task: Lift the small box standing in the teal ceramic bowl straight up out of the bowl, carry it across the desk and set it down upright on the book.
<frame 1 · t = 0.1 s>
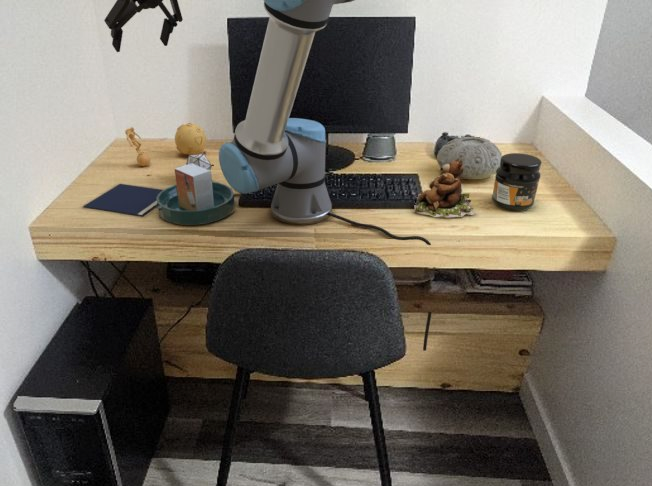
hand: (140, 45, 143), 36 cm above the table, tool tilted 35°, fingers open, 13 cm apart
bowl: (197, 209, 141), on the table
decorative shell: (466, 174, 160), on the table
book: (130, 199, 147), on the table
small box: (196, 208, 141), resting on bowl
game die: (199, 181, 158), on the table
supplement container: (511, 204, 142), on the table
stress ball: (192, 155, 177), on the table
figurine: (141, 166, 169), on the table
bear figurine: (441, 208, 141), on the table
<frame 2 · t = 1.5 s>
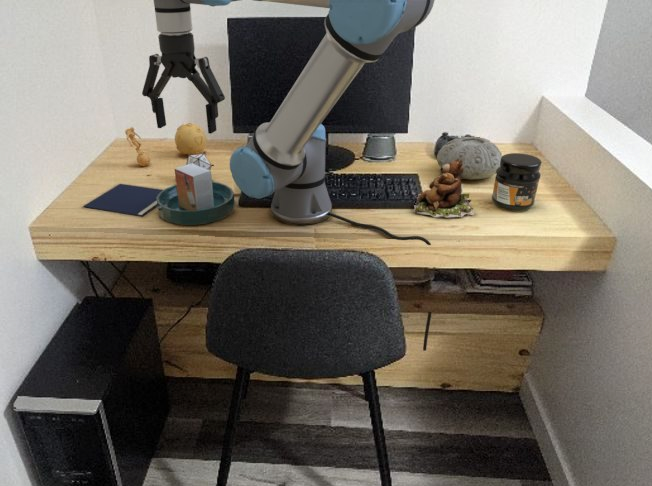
hand: (186, 129, 131), 21 cm above the table, tool pointing down, fingers open, 13 cm apart
nothing on the table moved.
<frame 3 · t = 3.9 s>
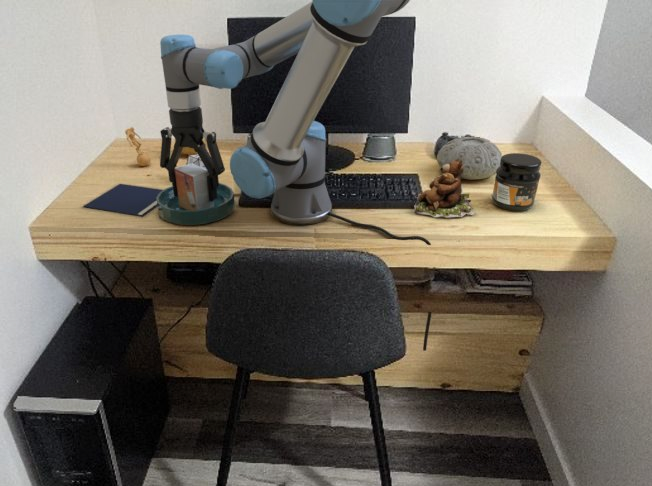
hand: (195, 196, 139), 4 cm above the table, tool pointing down, fingers closed on small box, 9 cm apart
small box: (196, 208, 141), resting on bowl, touching gripper
everything else where it was.
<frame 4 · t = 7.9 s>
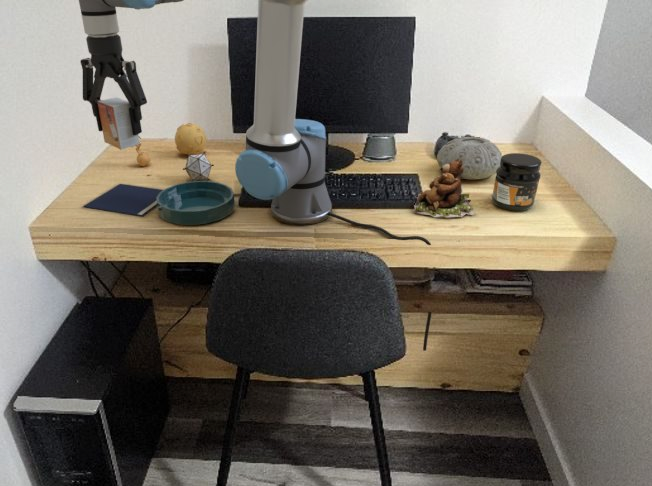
hand: (120, 131, 137), 19 cm above the table, tool pointing down, fingers closed on small box, 9 cm apart
small box: (122, 144, 139), point 15 cm above the table, touching gripper
everything else where it was.
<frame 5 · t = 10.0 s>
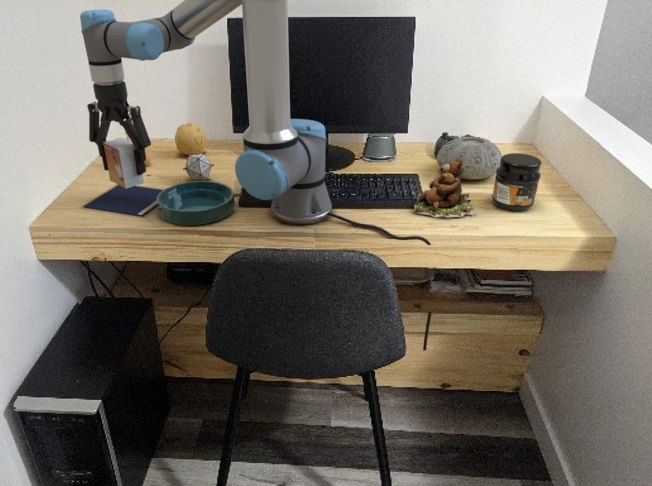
hand: (125, 170, 143), 8 cm above the table, tool pointing down, fingers closed on small box, 9 cm apart
small box: (127, 182, 144), point 5 cm above the table, touching gripper
everything else where it was.
when the fingers open (3 cm above the table, at t = 11.7 s): small box stays where it is, resting on book.
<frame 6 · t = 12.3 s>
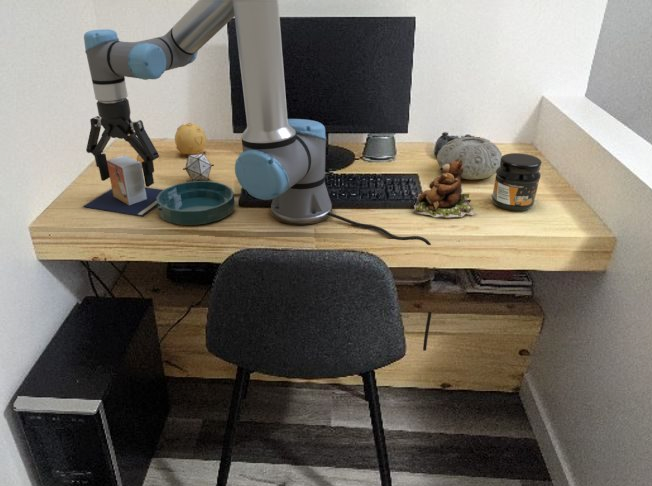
hand: (127, 182, 144), 5 cm above the table, tool pointing down, fingers open, 13 cm apart
small box: (130, 199, 147), resting on book
everything else where it was.
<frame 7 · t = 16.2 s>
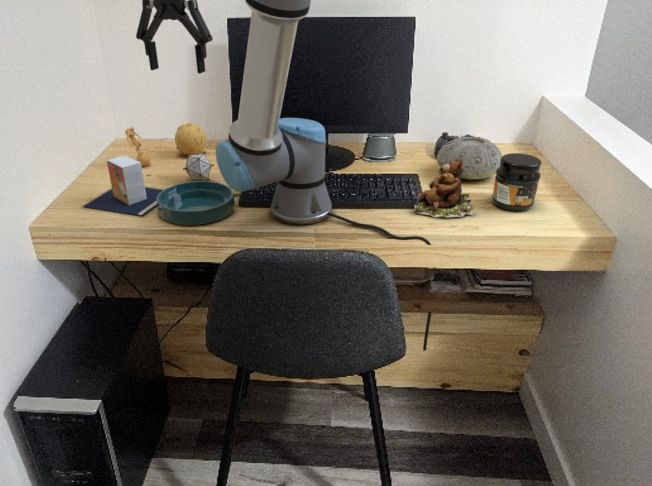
hand: (177, 70, 140), 31 cm above the table, tool pointing down, fingers open, 13 cm apart
nothing on the table moved.
at the end: small box inside the target area on the book (0.0 cm from its centre), point 0.1 cm above the book's base; small box tilted 0°; small box touching book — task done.
